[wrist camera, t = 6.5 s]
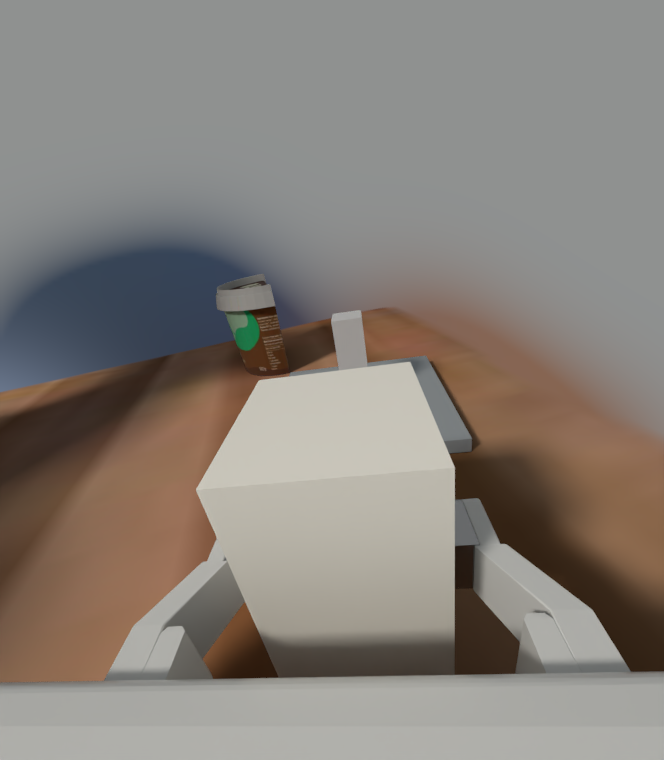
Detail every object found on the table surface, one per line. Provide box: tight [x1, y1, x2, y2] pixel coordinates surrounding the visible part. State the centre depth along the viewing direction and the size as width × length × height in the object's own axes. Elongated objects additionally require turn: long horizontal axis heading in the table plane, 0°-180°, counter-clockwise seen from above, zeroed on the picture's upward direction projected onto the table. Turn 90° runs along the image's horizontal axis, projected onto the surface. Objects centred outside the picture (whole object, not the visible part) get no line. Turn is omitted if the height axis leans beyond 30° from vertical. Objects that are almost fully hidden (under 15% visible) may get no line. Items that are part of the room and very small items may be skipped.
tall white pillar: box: [196, 362, 455, 678], centre depth 11 cm, size 5×5×10 cm
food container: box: [216, 274, 290, 376], centre depth 39 cm, size 12×6×10 cm, turn 14°
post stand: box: [289, 310, 472, 453], centre depth 26 cm, size 14×14×8 cm
